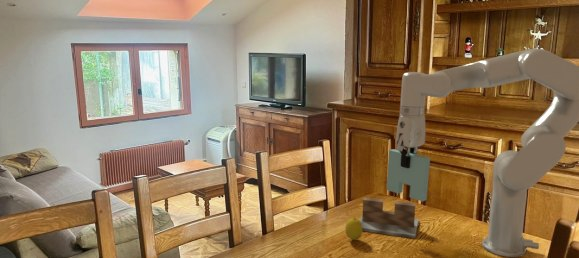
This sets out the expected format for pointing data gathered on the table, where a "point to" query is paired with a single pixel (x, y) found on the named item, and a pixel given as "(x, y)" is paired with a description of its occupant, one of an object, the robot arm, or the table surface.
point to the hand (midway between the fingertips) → (407, 166)
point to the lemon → (353, 228)
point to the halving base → (390, 229)
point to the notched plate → (408, 175)
